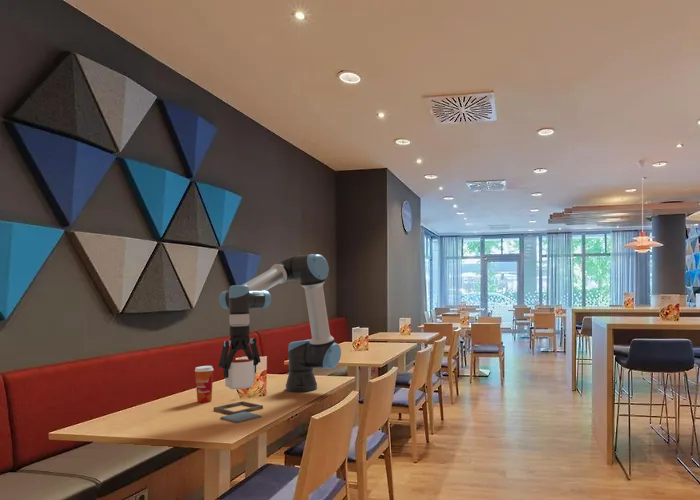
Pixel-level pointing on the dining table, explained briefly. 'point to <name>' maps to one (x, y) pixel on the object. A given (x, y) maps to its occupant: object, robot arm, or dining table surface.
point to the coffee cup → (204, 383)
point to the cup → (242, 374)
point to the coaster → (241, 417)
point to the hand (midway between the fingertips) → (240, 384)
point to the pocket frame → (223, 410)
